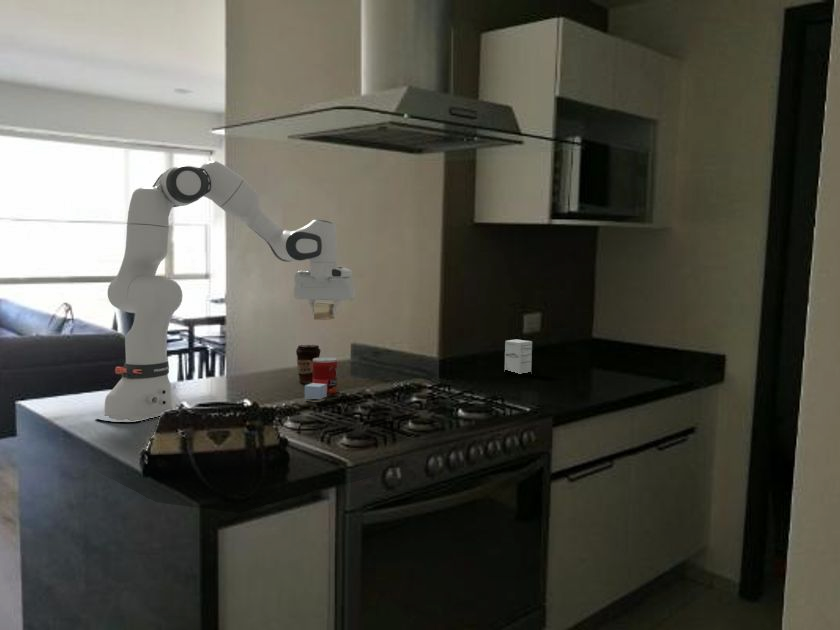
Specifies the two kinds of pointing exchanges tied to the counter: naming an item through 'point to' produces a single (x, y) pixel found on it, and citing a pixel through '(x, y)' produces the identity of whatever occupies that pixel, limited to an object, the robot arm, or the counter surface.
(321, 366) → the canned food
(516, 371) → the supplement box
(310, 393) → the slate block
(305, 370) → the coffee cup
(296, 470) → the counter surface
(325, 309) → the maple block
